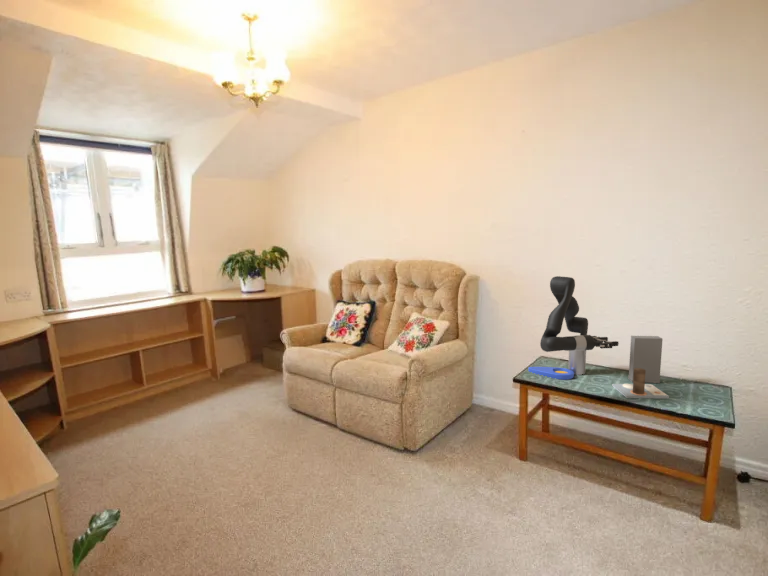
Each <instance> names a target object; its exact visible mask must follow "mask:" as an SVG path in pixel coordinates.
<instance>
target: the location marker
mask: <svg viewBox="0 0 768 576" xmlns="http://www.w3.org/2000/svg"><path fill="white" fill-rule="evenodd" d="M528 372H530V373H531V372H532V374H534V373H535V375H538V374H539V376H541V375H543V376H542V377H545V376H547V377H546V378H550V377H551V379H555V378H556V380H572V379H573V378H574V376H575V374H574V372H573V371H572V370H570V369H568V368H565V367H556V366H555V367H554V366H529V367H528Z"/></svg>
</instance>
